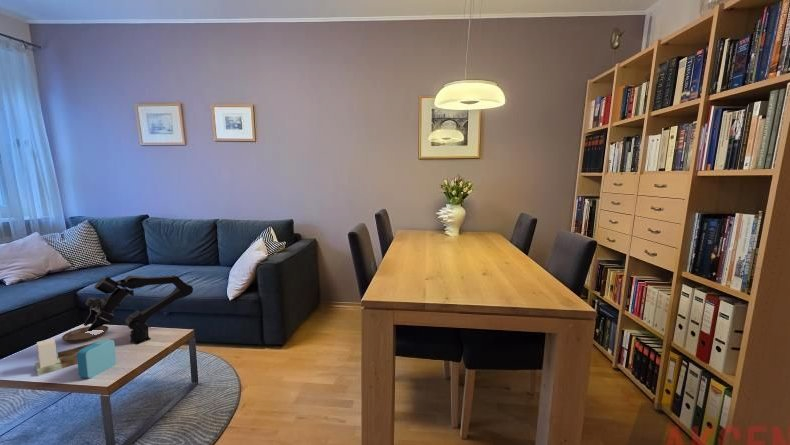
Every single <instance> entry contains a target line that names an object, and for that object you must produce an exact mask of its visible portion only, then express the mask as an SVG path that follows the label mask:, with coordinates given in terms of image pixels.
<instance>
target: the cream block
mask: <svg viewBox="0 0 790 445" xmlns="http://www.w3.org/2000/svg"><path fill="white" fill-rule="evenodd" d="M36 346H37V347H36V348H37V356H38V362H39V365H40V368H43V367H46V366H50V365H53V364H56V363H57V357H58V353H57V347H56V340H55V339H54V338H53V337H51V338H48V339H44V340H41V341H37V342H36Z"/></svg>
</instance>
